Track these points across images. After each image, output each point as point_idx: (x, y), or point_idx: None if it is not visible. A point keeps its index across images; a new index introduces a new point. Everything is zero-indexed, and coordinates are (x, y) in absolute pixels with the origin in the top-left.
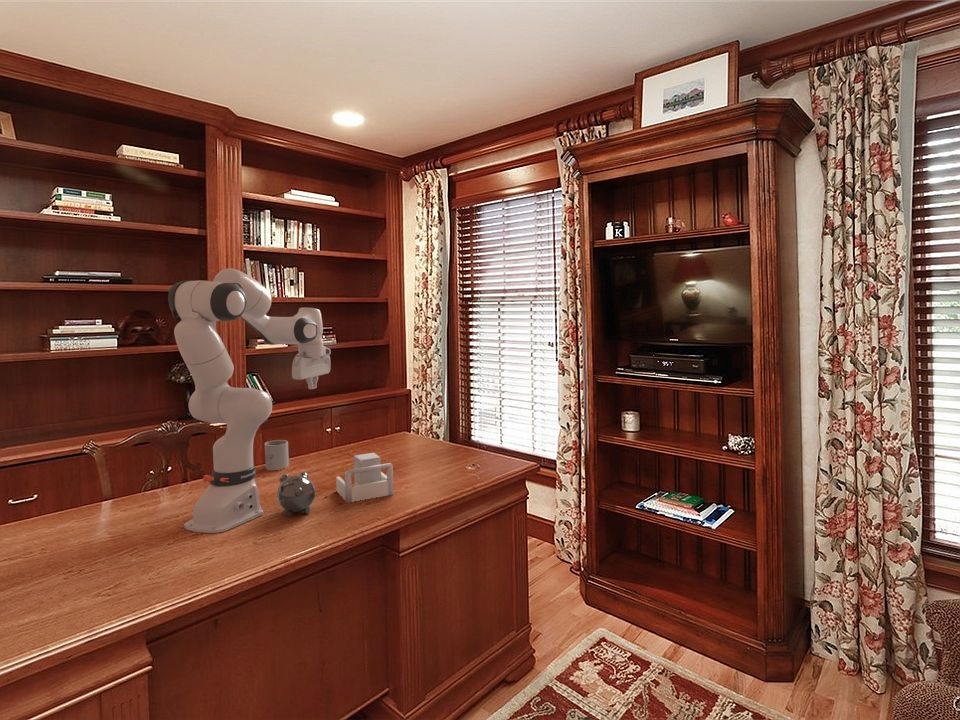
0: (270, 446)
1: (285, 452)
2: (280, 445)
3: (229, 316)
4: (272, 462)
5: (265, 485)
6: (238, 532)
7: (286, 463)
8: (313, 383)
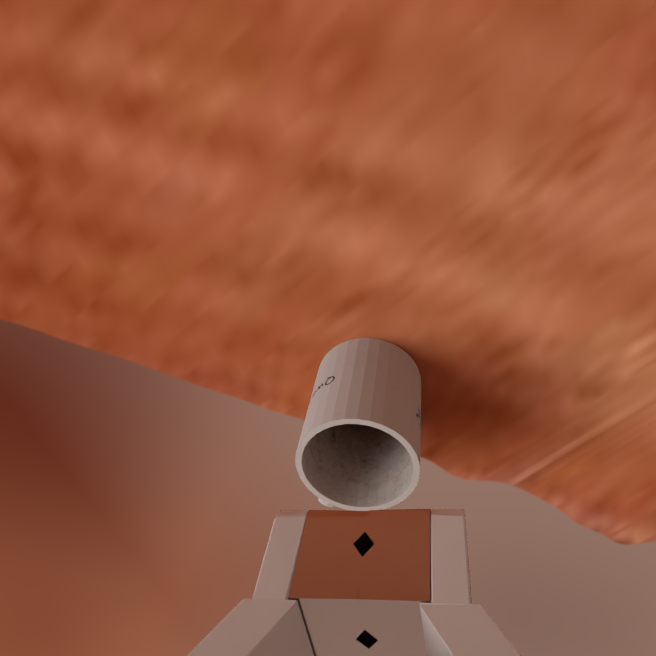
0: (418, 457)
1: (359, 386)
2: (385, 423)
3: None
4: (417, 394)
5: (636, 256)
6: None
7: (360, 351)
8: (308, 644)
